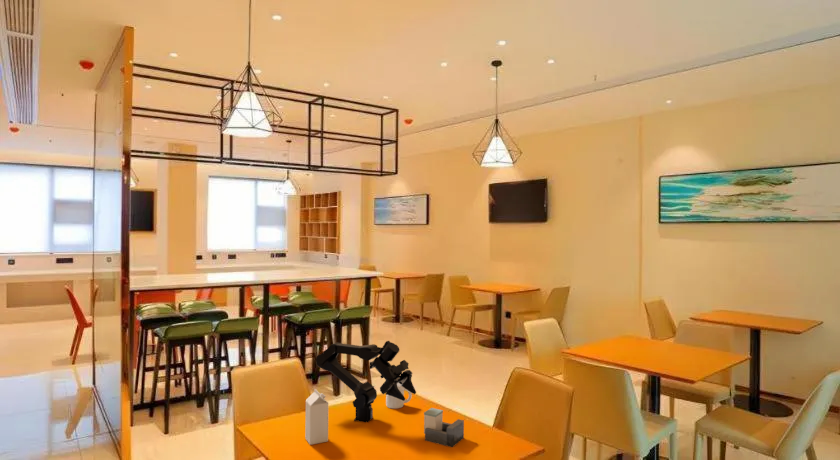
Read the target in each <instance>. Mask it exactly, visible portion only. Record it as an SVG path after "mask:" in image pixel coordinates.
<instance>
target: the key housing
mask: <svg viewBox="0 0 840 460" xmlns="http://www.w3.org/2000/svg"><path fill="white" fill-rule="evenodd" d="M464 426H465V420H464V419H460V418H458V419H456V420H455V421H454V422H452V423H449V422H444V421H442V431H439V430H435V429H430V428H426V429H425V434H424V441H425V442H428V443H429V442H430V443H433V444H437V445H442V446H445V447H449V448H454V447H455V446H456V445H458V443H459V442H461V441H462V440H463V439H464V437H465V436H464V435H465V433H464V431H465V427H464Z"/></svg>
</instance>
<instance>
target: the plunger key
mask: <svg viewBox="0 0 840 460" xmlns="http://www.w3.org/2000/svg"><path fill="white" fill-rule="evenodd" d="M443 413H444V410H443V409H439V408H435V407H430V408H429V409H428V410H426V411H424V412H423V416H424V417H423V418H424V419H423V423H424V424H423V428H424V429H423V433H424V435H425V429H426V428H430V429H435V430H439V431H442V422H443V416H444V415H443Z"/></svg>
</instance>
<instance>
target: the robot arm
mask: <svg viewBox="0 0 840 460" xmlns="http://www.w3.org/2000/svg"><path fill="white" fill-rule="evenodd" d="M399 352H400V347H399V346H398V345H397V344H395V343H393V342H391V341H390V340H386V341H385V342H384V344H383V346H382V347H380V346H378V345H377V344H365V345H364V344H363V345H357V344H356V345H355V344H349V343H341V342H339V341H338V342H334V343H331V344H330V345H329V347H328V348H326V349H325V350H324V351H322V352H321V353H320V354H318V355H317V356H316V358H315V364H316V366H317V367H319V368H320V369H322V370H324V371H327V372H330V373H331V374H332V375H334V376H335V377H336V378H337V379H338V380H340V382H342V383H343V384H344V385H346V386H347V387H348V388H349V389H350V390H351V391H352V392H353V394H354V396H355V399H354V400H353V401H352V405H353V408H355V418H354V419H353V422H361V423H369V422H370V421H371V420H372V419H373V417H374V416H373V415H374V414H373V413H374V412H373V405H372V404H374V402H375V400H376V399H377V396H378V392H377V389H376V388H375V386H373V385H372V384H371V383H370V382H369V381H366V382H361V381H360V380H359V379H358V378H356V377H355V376H354V375H353V374H352V373H351V372H350V371H348V370H347V369H346V368H344V366H342V365H341V364H340V363H339V362H338V358H337V357H338V356H339V354H343V355H349V356H356V357H358V358H359V359H362V360H364V361H370V360H372V361H370V362H369V366H368V367H369V370H372V369H374V368H375V370H376V371H377V372H378V374H380V376H379V377H380V378H381V379H383V378H384V380H385V381H384V382H383V383H382V384H381V386H380V387H379V391H380V393H381V394H382V395H385V396H386V395H390V396H393V397H395V398H398V399H400V400H403V401H404V400H406V397H405V395H404V396H403V394H402V393H401V392H400V390H399V389H398V388H397V383H400V384H402V385H401V386H402V387H404V388H405V389H407V390H408V391H410V392H411V393H412V394H413V395H416V394H417V391H416V389H415V387H414V384H413V382H412V378H413V372H412V371H411V370H410V369H409V362H408V361H406V360H405V359H403V360H402V361H400V362H399V364H397V365H395V364H391V363H390V362H392V361H393V360H394V359H395V358H396V356H397V355H398V354H399ZM408 391H407V392H408Z"/></svg>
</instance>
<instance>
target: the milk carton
mask: <svg viewBox="0 0 840 460" xmlns="http://www.w3.org/2000/svg"><path fill="white" fill-rule="evenodd" d="M313 390H314V391H313V392H312V393H311V394H310V395H309V396H308V397H307V398H306V400H305V426H304V427H305V431H304V432H305V436H304V438H305V440H306V441H307V443H308V444H309V446H311V445H316V444H321V443H326V442H329V402H328V401H327V400H326V399H325V398H326V395H325V394H324V393H323V392H321V393H320V392H319V391H318V389H316V388H314V389H313Z"/></svg>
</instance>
